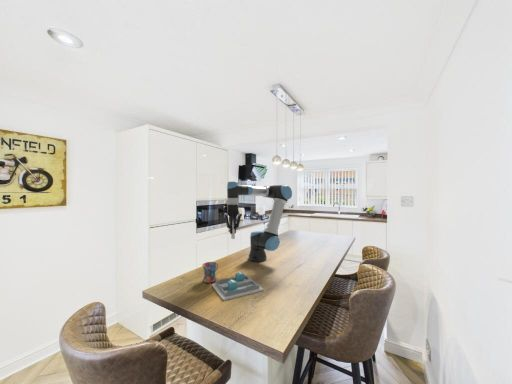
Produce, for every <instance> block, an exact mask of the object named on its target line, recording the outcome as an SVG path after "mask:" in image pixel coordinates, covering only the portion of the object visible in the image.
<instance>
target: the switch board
mask: <svg viewBox="0 0 512 384" xmlns="http://www.w3.org/2000/svg"><path fill="white" fill-rule="evenodd" d="M230 280H235V281H236V276H234V277H229V278H228V277H227V278H222V279H220V280H218V279H217V280H216V281H215V282H214V283H211V286H212V288H213V290H215V292H216V293H217V294H218V295H219V297H220V299H221V300H222V301H224V302H225V301H228V300H231V299H236V298H239V297H243V296H247V295H251V294H255V293H258V292H262V291H264V288H263V287H262V286H261V285H260V284H259V283H257V282H255V281H254V280H253V279H252V278H250V277H249V275H246V274H244V280H243V281H238V282H237V289H235V290H231V291H228V281H230Z"/></svg>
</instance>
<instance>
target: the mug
mask: <svg viewBox="0 0 512 384" xmlns="http://www.w3.org/2000/svg"><path fill="white" fill-rule="evenodd" d="M201 265H202V269H203V271H204V276H203V279H202V282H204V283H208V284H210V283H211V284H213V283H216V282H217V281H218V278H217V276H216V272H217V271H218V269H219V264H218V263H217V262H214V261H207V262H204V263H203V264H201Z"/></svg>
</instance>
